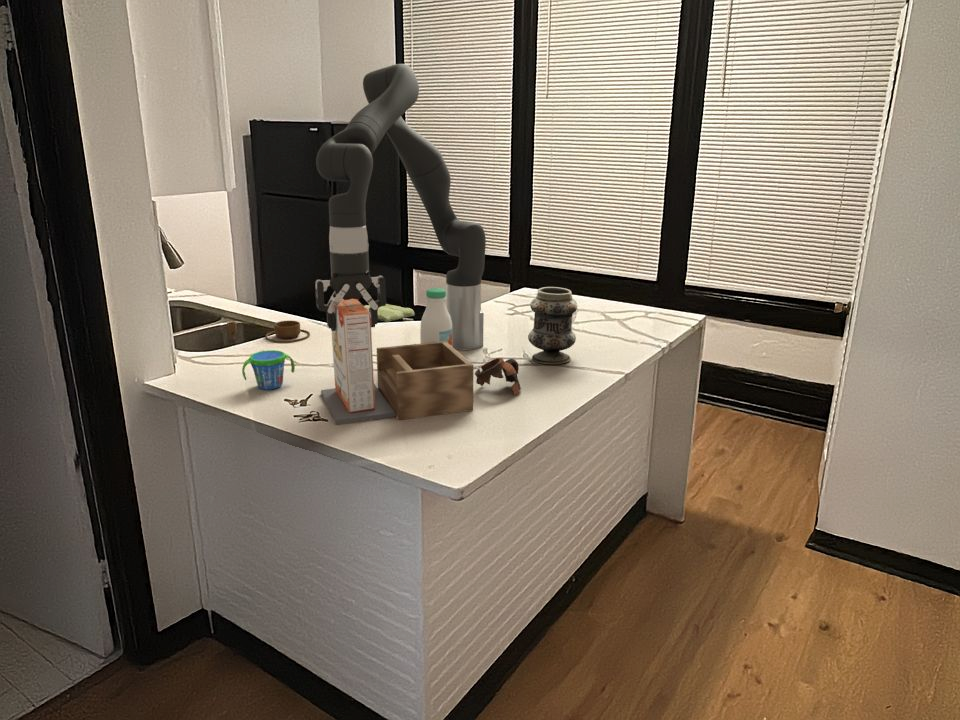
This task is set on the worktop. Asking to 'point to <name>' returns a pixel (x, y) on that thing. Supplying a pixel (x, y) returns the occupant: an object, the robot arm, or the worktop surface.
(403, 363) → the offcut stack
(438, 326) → the milk bottle
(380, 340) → the worktop surface
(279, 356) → the snack cup
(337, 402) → the mat
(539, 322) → the apothecary jar
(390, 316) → the washcloth
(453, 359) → the wooden box
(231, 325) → the place setting
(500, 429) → the worktop surface
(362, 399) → the cracker box
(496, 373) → the brown jagged arch
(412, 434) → the worktop surface
